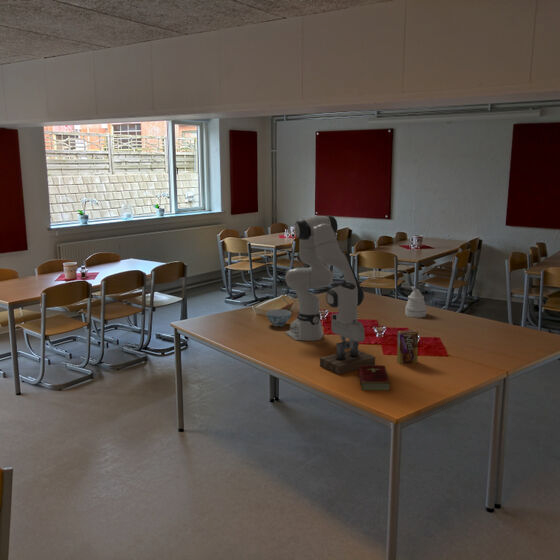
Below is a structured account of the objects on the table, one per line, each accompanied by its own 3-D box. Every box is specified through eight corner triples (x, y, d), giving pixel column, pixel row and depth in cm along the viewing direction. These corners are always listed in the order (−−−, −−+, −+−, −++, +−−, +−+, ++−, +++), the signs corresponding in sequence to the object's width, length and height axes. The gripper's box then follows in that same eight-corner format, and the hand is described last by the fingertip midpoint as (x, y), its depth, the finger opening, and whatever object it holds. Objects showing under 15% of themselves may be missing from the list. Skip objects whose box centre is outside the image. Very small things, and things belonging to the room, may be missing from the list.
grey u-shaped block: (336, 364, 263) (336, 343, 261) (354, 360, 269) (354, 339, 266) (340, 366, 260) (340, 344, 258) (358, 361, 266) (358, 340, 264)
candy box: (414, 360, 270) (415, 329, 267) (417, 363, 266) (418, 332, 263) (396, 361, 269) (397, 330, 266) (399, 364, 265) (400, 333, 262)
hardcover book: (361, 391, 235) (361, 381, 234) (358, 373, 255) (358, 364, 255) (390, 391, 234) (390, 382, 233) (384, 373, 255) (384, 364, 254)
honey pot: (404, 316, 350) (405, 288, 346) (406, 311, 362) (406, 284, 358) (425, 318, 346) (426, 289, 343) (426, 312, 358) (427, 285, 355)
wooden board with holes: (320, 365, 264) (319, 357, 264) (355, 357, 276) (355, 349, 275) (338, 374, 253) (338, 366, 252) (375, 364, 265) (375, 356, 264)
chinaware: (291, 328, 328) (291, 315, 326) (265, 328, 328) (265, 315, 326) (291, 321, 342) (291, 309, 341) (266, 321, 343) (266, 309, 341)
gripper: (368, 321, 253) (367, 351, 256) (339, 312, 270) (339, 340, 273) (357, 324, 250) (357, 353, 253) (329, 314, 267) (329, 342, 269)
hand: (347, 346), depth 263 cm, fingers closed on grey u-shaped block, 3 cm apart
